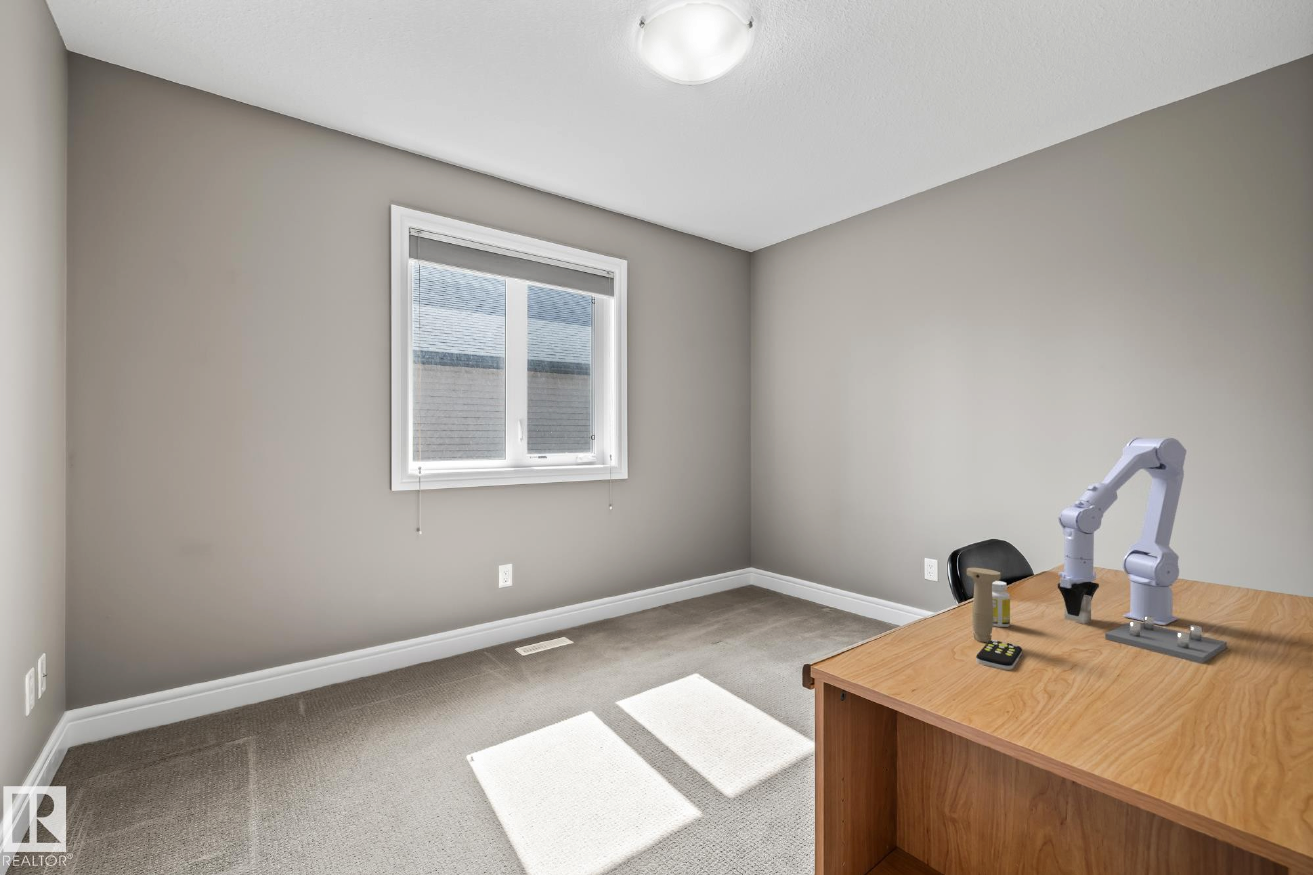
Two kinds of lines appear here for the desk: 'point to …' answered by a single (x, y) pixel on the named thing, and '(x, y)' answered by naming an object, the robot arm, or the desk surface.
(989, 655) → the remote control
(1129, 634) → the peg board
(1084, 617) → the cream block
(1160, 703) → the desk surface
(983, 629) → the handle
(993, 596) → the supplement bottle
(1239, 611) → the desk surface
